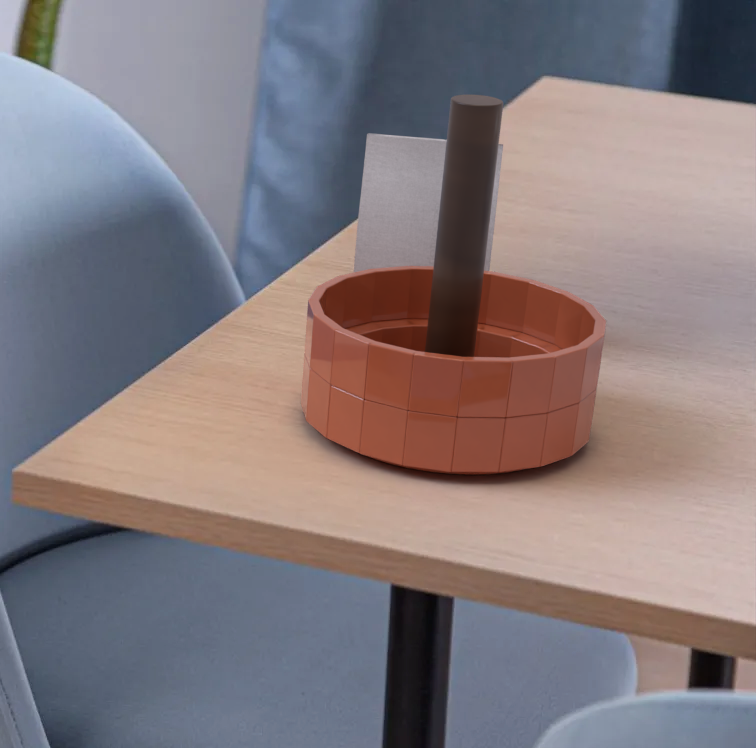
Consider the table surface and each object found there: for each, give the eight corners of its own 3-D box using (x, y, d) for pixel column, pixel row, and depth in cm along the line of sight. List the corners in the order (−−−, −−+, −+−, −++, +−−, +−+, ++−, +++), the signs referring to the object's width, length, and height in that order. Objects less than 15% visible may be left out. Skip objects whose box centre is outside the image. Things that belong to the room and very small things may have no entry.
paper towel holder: (465, 387, 83) (500, 83, 77) (528, 430, 79) (570, 111, 73) (360, 398, 81) (387, 88, 75) (417, 444, 77) (451, 117, 71)
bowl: (494, 363, 88) (507, 257, 86) (646, 464, 77) (665, 345, 75) (256, 389, 83) (263, 277, 81) (382, 499, 72) (394, 373, 70)
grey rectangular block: (480, 348, 90) (502, 154, 86) (348, 336, 91) (364, 142, 86) (481, 325, 93) (503, 137, 89) (354, 313, 94) (370, 126, 90)
